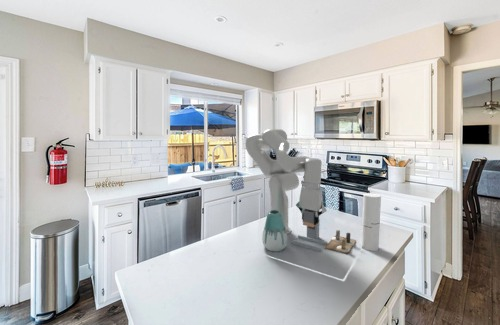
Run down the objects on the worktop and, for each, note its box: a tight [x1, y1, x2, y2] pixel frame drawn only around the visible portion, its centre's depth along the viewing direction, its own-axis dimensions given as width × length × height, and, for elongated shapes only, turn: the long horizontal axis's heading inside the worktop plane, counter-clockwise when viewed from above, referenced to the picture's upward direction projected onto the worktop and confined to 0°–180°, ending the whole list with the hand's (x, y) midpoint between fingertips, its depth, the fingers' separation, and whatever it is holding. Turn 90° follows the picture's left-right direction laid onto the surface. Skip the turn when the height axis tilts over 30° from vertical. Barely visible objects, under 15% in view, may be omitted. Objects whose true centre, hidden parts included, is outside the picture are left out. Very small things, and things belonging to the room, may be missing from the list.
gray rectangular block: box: [306, 218, 320, 240], centre depth 124 cm, size 5×4×10 cm
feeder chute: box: [291, 234, 328, 252], centre depth 117 cm, size 14×8×2 cm, turn 54°
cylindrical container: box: [360, 192, 382, 252], centre depth 113 cm, size 7×7×25 cm
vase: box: [261, 209, 288, 252], centre depth 113 cm, size 12×12×18 cm
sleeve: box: [302, 209, 315, 227], centre depth 116 cm, size 5×5×7 cm
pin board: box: [324, 229, 357, 255], centre depth 116 cm, size 11×16×6 cm
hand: (310, 222), depth 116 cm, fingers closed on sleeve, 5 cm apart
